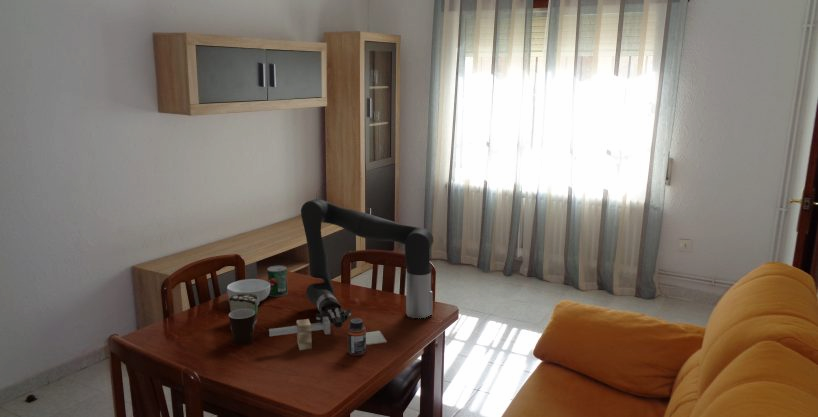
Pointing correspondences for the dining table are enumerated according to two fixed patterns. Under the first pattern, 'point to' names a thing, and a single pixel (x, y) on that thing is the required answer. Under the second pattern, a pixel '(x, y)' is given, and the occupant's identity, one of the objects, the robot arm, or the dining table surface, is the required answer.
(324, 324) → the t bolt
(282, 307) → the dining table surface
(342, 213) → the robot arm
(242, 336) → the coffee mug
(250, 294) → the food container
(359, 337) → the supplement bottle
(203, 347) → the dining table surface
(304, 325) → the keeper
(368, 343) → the mat
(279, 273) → the canned tomato
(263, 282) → the cereal bowl
